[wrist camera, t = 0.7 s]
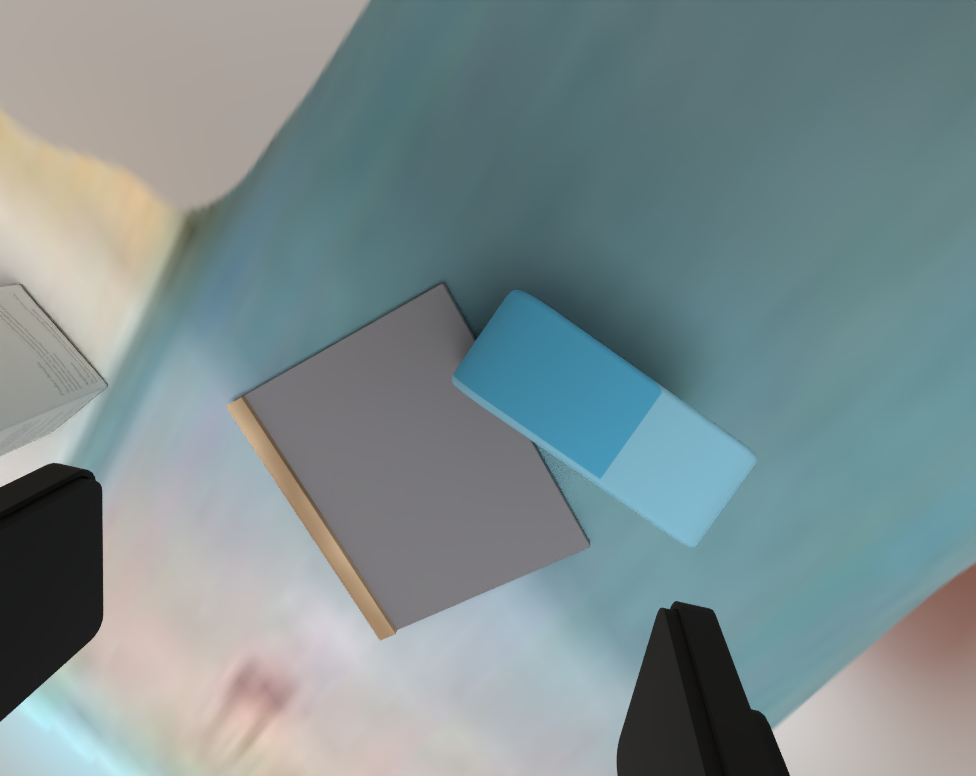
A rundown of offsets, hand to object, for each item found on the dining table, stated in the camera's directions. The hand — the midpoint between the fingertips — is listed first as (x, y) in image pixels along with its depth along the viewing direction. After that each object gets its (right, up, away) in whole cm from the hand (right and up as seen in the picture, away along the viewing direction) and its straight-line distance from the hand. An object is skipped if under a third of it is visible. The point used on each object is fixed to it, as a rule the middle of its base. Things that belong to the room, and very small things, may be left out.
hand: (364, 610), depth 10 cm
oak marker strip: (-9, -5, +29) cm, 31 cm away
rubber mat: (-2, -1, +28) cm, 28 cm away
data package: (+6, +3, +25) cm, 26 cm away
